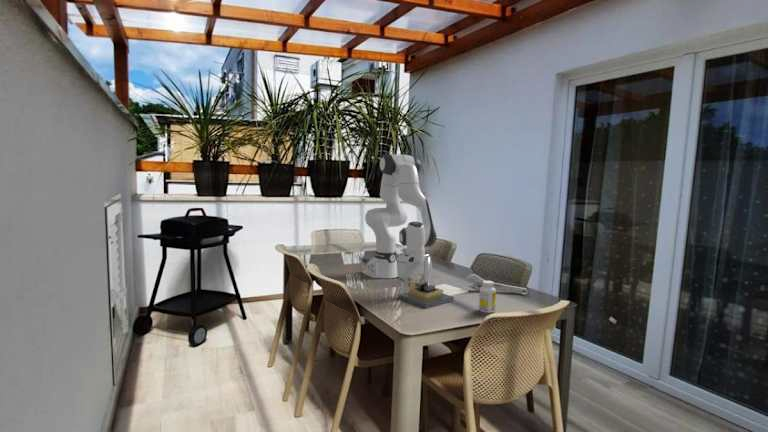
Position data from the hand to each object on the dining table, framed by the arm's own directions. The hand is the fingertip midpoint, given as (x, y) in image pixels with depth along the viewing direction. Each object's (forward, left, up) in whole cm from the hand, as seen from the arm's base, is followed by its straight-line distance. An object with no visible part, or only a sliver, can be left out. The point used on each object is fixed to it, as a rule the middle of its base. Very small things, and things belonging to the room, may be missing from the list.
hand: (415, 284), depth 200 cm
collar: (+5, 0, -3) cm, 6 cm away
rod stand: (+8, 0, -6) cm, 9 cm away
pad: (+4, +18, -6) cm, 19 cm away
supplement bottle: (+35, +10, -6) cm, 36 cm away
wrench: (+20, +38, -6) cm, 43 cm away
